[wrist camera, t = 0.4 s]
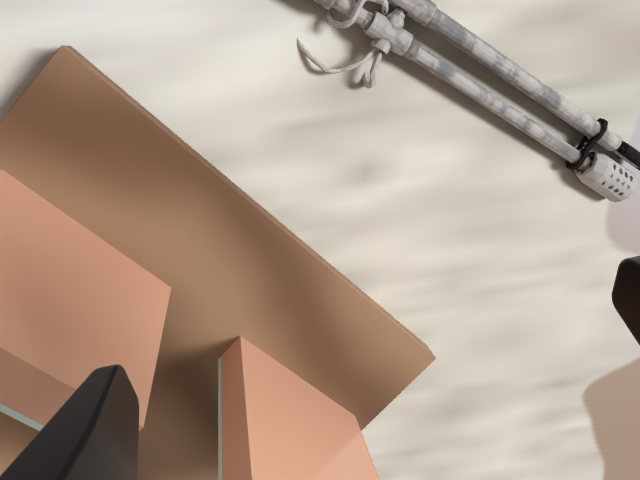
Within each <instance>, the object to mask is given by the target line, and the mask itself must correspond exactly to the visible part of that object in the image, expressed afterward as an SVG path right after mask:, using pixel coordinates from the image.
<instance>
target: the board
mask: <svg viewBox="0 0 640 480" xmlns="http://www.w3.org/2000/svg"><path fill="white" fill-rule="evenodd" d="M1 169H2V170H4V171H5V172H6V173H8V174H9V175H11V176H12V177H14V178H15V179H16V180H18V181H19V182H21V183H22V184H24V185H25V186H26V187H28V188H29V189H31V190H32V191H34V192H35V193H37V194H38V195H39V196H41V197H42V198H44V199H45V200H47V201H48V202H49V203H51V204H52V205H54V206H55V207H57V208H58V209H59V210H61V211H62V212H64V213H65V214H67V215H68V216H69V217H71V218H72V219H74V220H75V221H77V222H78V223H79V224H81V225H82V226H84V227H85V228H87V229H88V230H90V231H91V232H92V233H94V234H95V235H97V236H98V237H100V238H101V239H102V240H104V241H105V242H107V243H108V244H110V245H111V246H112V247H114V248H115V249H117V250H118V251H120V252H121V253H122V254H124V255H125V256H127V257H128V258H130V259H131V260H133V261H134V262H135V263H137V264H138V265H140V266H141V267H143V268H144V269H145V270H147V271H148V272H150V273H151V274H153V275H154V276H155V277H157V278H158V279H160V280H161V281H163V282H164V283H165V284H167V285H168V286H170V287H171V292H170V297H169V302H168V307H167V312H166V317H165V322H164V327H163V332H162V337H161V342H160V347H159V352H158V357H157V362H156V367H155V372H154V377H153V382H152V387H151V392H150V397H149V402H148V407H147V412H146V417H145V422H144V427H143V428H142V429H141V430H140V431H139V443H138V479H137V480H218V359H219V358H220V356H221V355H222V354H223V353H224V352H225V351H226V350H227V349H228V348H229V347H230V346H231V345H232V344H233V343H234V342H235V341H236V340H237V339H238V338H239V337H240V336H241V337H243V338H244V339H246V340H247V341H249V342H250V343H251V344H253V345H254V346H256V347H257V348H259V349H260V350H262V351H263V352H264V353H266V354H267V355H269V356H270V357H272V358H273V359H274V360H276V361H277V362H279V363H280V364H282V365H283V366H284V367H286V368H287V369H289V370H290V371H292V372H293V373H294V374H296V375H297V376H299V377H300V378H302V379H303V380H304V381H306V382H307V383H309V384H310V385H312V386H313V387H315V388H316V389H317V390H319V391H320V392H322V393H323V394H325V395H326V396H327V397H329V398H330V399H332V400H333V401H335V402H336V403H337V404H339V405H340V406H342V407H343V408H345V409H346V410H347V411H349V412H350V413H352V414H353V415H355V417H356V420H357V422H358V425H359V427H360V430H362V429H364V428H365V427H366V426H367V425H368V424H369V423H370V422H371V421H372V420H373V419H374V418H375V417H376V416H377V415H378V414H379V413H380V412H381V411H382V410H383V409H384V408H385V407H386V406H387V405H388V404H389V403H390V402H391V401H392V400H393V399H395V398H396V397H397V396H398V395H399V394H400V393H401V392H402V391H403V390H404V389H405V388H406V387H407V386H408V385H409V384H410V383H411V382H412V381H413V380H414V379H415V378H416V377H417V376H418V375H419V374H420V373H421V372H422V371H423V370H424V369H425V368H427V367H428V366H429V365H430V364H431V363H432V362H433V361H434V360H435V359H436V357H435V356H434V355H433V353H432V352H431V350H430V349H429V348H428V346H427V345H426V344H424V343H423V342H422V341H421V340H420V339H418V338H417V337H416V336H415V335H414V334H412V333H411V332H410V331H409V330H408V329H407V328H405V327H404V326H403V325H402V324H401V323H399V322H398V321H397V320H396V319H395V318H393V317H392V316H391V315H390V314H389V313H387V312H386V311H385V310H384V309H383V308H382V307H380V306H379V305H378V304H377V303H376V302H374V301H373V300H372V299H371V298H370V297H368V296H367V295H366V294H365V293H364V292H362V291H361V290H360V289H359V288H358V287H357V286H355V285H354V284H353V283H352V282H351V281H349V280H348V279H347V278H346V277H345V276H343V275H342V274H341V273H340V272H339V271H338V270H336V269H335V268H334V267H333V266H332V265H330V264H329V263H328V262H327V261H326V260H324V259H323V258H322V257H321V256H320V255H318V254H317V253H316V252H315V251H314V250H313V249H311V248H310V247H309V246H308V245H307V244H305V243H304V242H303V241H302V240H301V239H299V238H298V237H297V236H296V235H295V234H294V233H292V232H291V231H290V230H289V229H288V228H286V227H285V226H284V225H283V224H282V223H280V222H279V221H278V220H277V219H276V218H274V217H273V216H272V215H271V214H270V213H269V212H267V211H266V210H265V209H264V208H263V207H261V206H260V205H259V204H258V203H257V202H255V201H254V200H253V199H252V198H251V197H250V196H248V195H247V194H246V193H245V192H244V191H242V190H241V189H240V188H239V187H238V186H236V185H235V184H234V183H233V182H232V181H230V180H229V179H228V178H227V177H226V176H225V175H223V174H222V173H221V172H220V171H219V170H217V169H216V168H215V167H214V166H213V165H211V164H210V163H209V162H208V161H207V160H206V159H204V158H203V157H202V156H201V155H200V154H198V153H197V152H196V151H195V150H194V149H192V148H191V147H190V146H189V145H188V144H186V143H185V142H184V141H183V140H182V139H181V138H179V137H178V136H177V135H176V134H175V133H173V132H172V131H171V130H170V129H169V128H167V127H166V126H165V125H164V124H163V123H161V122H160V121H159V120H158V119H157V118H156V117H154V116H153V115H152V114H151V113H150V112H148V111H147V110H146V109H145V108H144V107H142V106H141V105H140V104H139V103H138V102H137V101H135V100H134V99H133V98H132V97H131V96H129V95H128V94H127V93H126V92H125V91H123V90H122V89H121V88H120V87H119V86H117V85H116V84H115V83H114V82H113V81H112V80H110V79H109V78H108V77H107V76H106V75H104V74H103V73H102V72H101V71H100V70H98V69H97V68H96V67H95V66H94V65H93V64H91V63H90V62H89V61H88V60H87V59H85V58H84V57H83V56H82V55H81V54H79V53H78V52H77V51H76V50H75V49H73V48H72V47H71V46H61V47H60V48H59V50H58V51H57V52H56V53H55V54H54V56H53V57H52V58H51V59H50V61H49V62H48V63H47V64H46V66H45V67H44V68H43V69H42V71H41V72H40V73H39V74H38V76H37V77H36V78H35V79H34V81H33V82H32V83H31V84H30V86H29V87H28V88H27V89H26V91H25V92H24V93H23V94H22V96H21V97H20V98H19V99H18V101H17V102H16V103H15V104H14V106H13V107H12V108H11V109H10V111H9V112H8V113H7V114H6V116H5V117H4V118H3V119H2V120H1V122H0V170H1ZM38 432H39V431H38V430H36V429H34V428H32V427H30V426H28V425H26V424H24V423H22V422H20V421H19V420H17V419H15V418H13V417H11V416H9V415H7V414H5V413H3V412H1V411H0V475H1V474H2V473H3V472H4V471H5V470H6V469H7V467H8V466H9V465H10V464H11V463H12V462H13V461H14V460H15V458H16V457H17V456H18V455H19V454H20V453H21V452H22V451H23V449H24V448H25V447H26V446H27V445H28V444H29V443H30V441H31V440H32V439H33V438H34V437H35V436H36V435H37V434H38Z"/></svg>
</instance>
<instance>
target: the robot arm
mask: <svg viewBox="0 0 640 480" xmlns="http://www.w3.org/2000/svg"><path fill="white" fill-rule="evenodd" d="M612 301H613V304H614V307H615V309H616V310H617V312H618V313H619V315H620V316H621V318H622V319H623V321H624V322H625V324H626V325H627V327H628V328H629V330H630V331H631V333H632V334H633V336H634V337H635V339H636V341H637V342H638V344H639V345H640V256H636V257H632V258H627V259H624V260H622V262H621V263H620V264H619V267H618V271H617V275H616V279H615V283H614V287H613V291H612ZM138 443H139V401H138V397H137V394H136V392H135V390H134V388H133V386H132V384H131V382H130V380H129V378H128V375H127V373H126V371H125V369H124V368H123V367H122V366H121V365H119V364H115V365H110V366H105V367H100V368H97V369H95V370H94V371H93V372H92V373H91V374H90V375H89V376H88V377H87V378H86V379H85V380H84V382H83V383H82V384H81V385H80V386H79V387H78V388H77V389H76V391H75V392H74V393H73V394H72V395H71V396H70V397H69V399H68V400H67V401H66V402H65V403H64V404H63V405H62V406H61V408H60V409H59V410H58V411H57V412H56V413H55V414H54V415H53V417H52V418H51V419H50V420H49V421H48V422H47V423H46V425H45V426H44V427H43V428H42V429H41V430H40V431H39V432H38V434H37V435H36V436H35V437H34V438H33V439H32V440H31V441H30V443H29V444H28V445H27V446H26V447H25V448H24V449H23V451H22V452H21V453H20V454H19V455H18V456H17V457H16V458H15V460H14V461H13V462H12V463H11V464H10V465H9V466H8V467H7V469H6V470H5V471H4V472H3V473H2V474H1V475H0V480H137V479H138Z"/></svg>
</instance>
